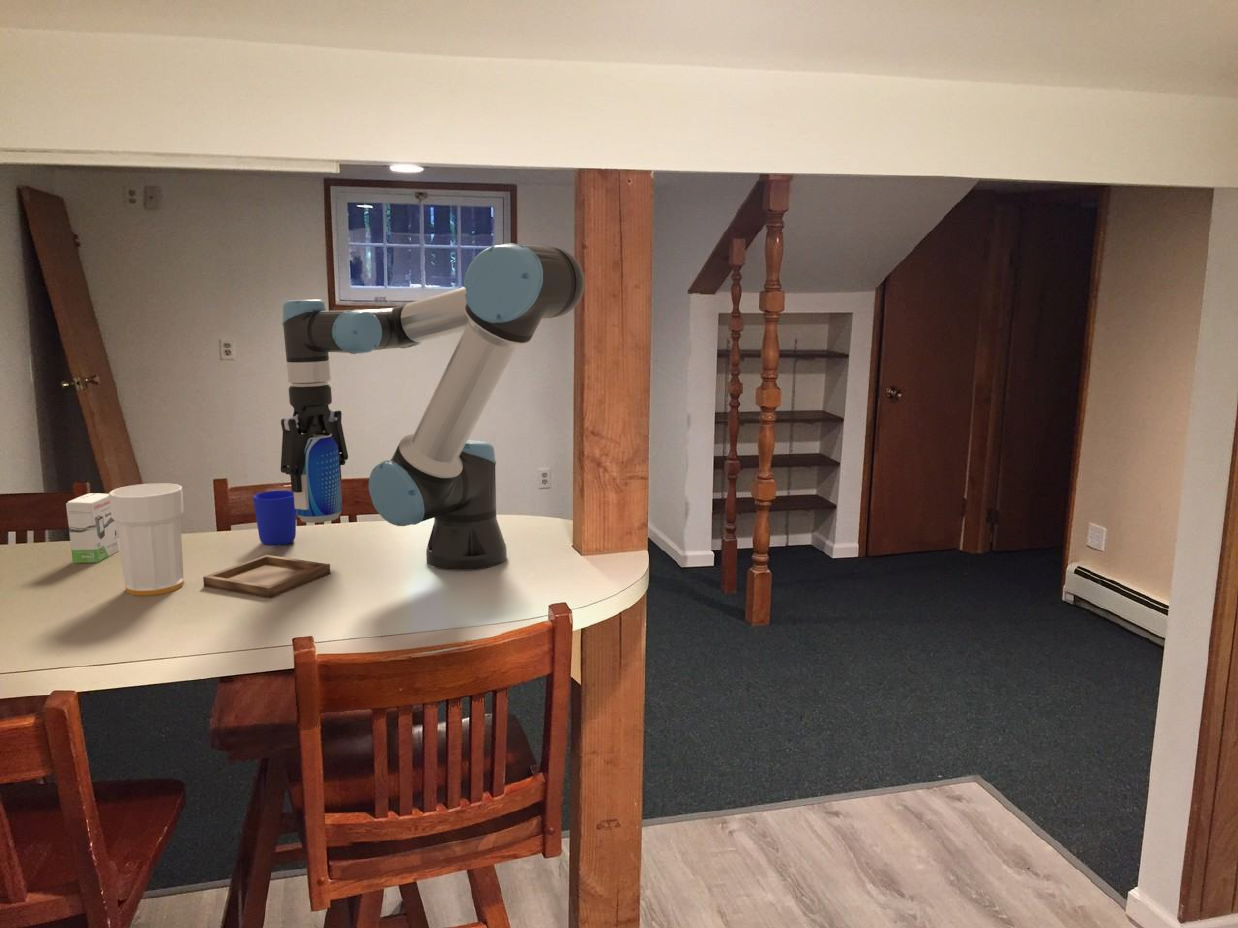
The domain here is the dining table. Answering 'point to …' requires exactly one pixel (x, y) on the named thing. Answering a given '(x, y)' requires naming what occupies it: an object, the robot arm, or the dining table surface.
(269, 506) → the mug
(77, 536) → the ink box
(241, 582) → the tray
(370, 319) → the robot arm
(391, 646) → the dining table surface
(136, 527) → the cup
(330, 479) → the beer can
